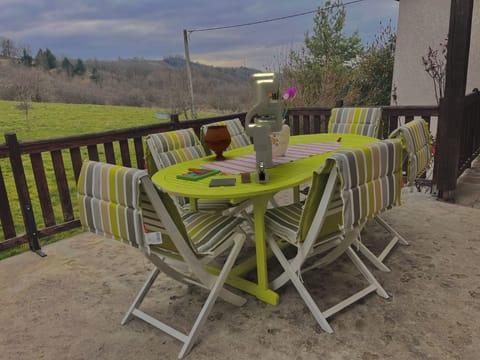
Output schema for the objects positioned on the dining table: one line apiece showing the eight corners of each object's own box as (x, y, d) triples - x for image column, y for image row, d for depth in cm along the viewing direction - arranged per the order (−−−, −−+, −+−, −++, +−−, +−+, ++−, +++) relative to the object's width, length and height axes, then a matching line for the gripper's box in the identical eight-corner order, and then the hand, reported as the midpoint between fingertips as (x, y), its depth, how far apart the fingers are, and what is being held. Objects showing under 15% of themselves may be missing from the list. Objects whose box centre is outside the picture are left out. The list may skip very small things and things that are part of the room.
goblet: (202, 160, 278) (199, 126, 272) (224, 156, 288) (221, 124, 282) (214, 163, 262) (211, 128, 256) (237, 159, 272) (235, 125, 266)
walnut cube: (241, 181, 209) (241, 172, 207) (250, 181, 208) (250, 172, 207) (241, 183, 204) (240, 174, 202) (250, 183, 203) (250, 174, 202)
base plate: (211, 180, 214) (211, 179, 213) (235, 179, 213) (235, 177, 213) (208, 187, 200) (208, 185, 200) (234, 185, 199) (234, 184, 199)
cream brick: (255, 180, 208) (255, 172, 207) (268, 180, 208) (268, 171, 207) (256, 183, 203) (255, 174, 202) (268, 182, 203) (268, 173, 202)
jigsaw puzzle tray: (221, 174, 232) (193, 170, 247) (220, 170, 231) (193, 167, 247) (194, 182, 215) (166, 177, 230) (194, 178, 214) (166, 174, 230)
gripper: (253, 145, 209) (255, 175, 213) (253, 150, 193) (255, 182, 197) (267, 144, 209) (268, 174, 213) (268, 149, 192) (269, 181, 196)
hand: (262, 178), depth 205 cm, fingers open, 9 cm apart
